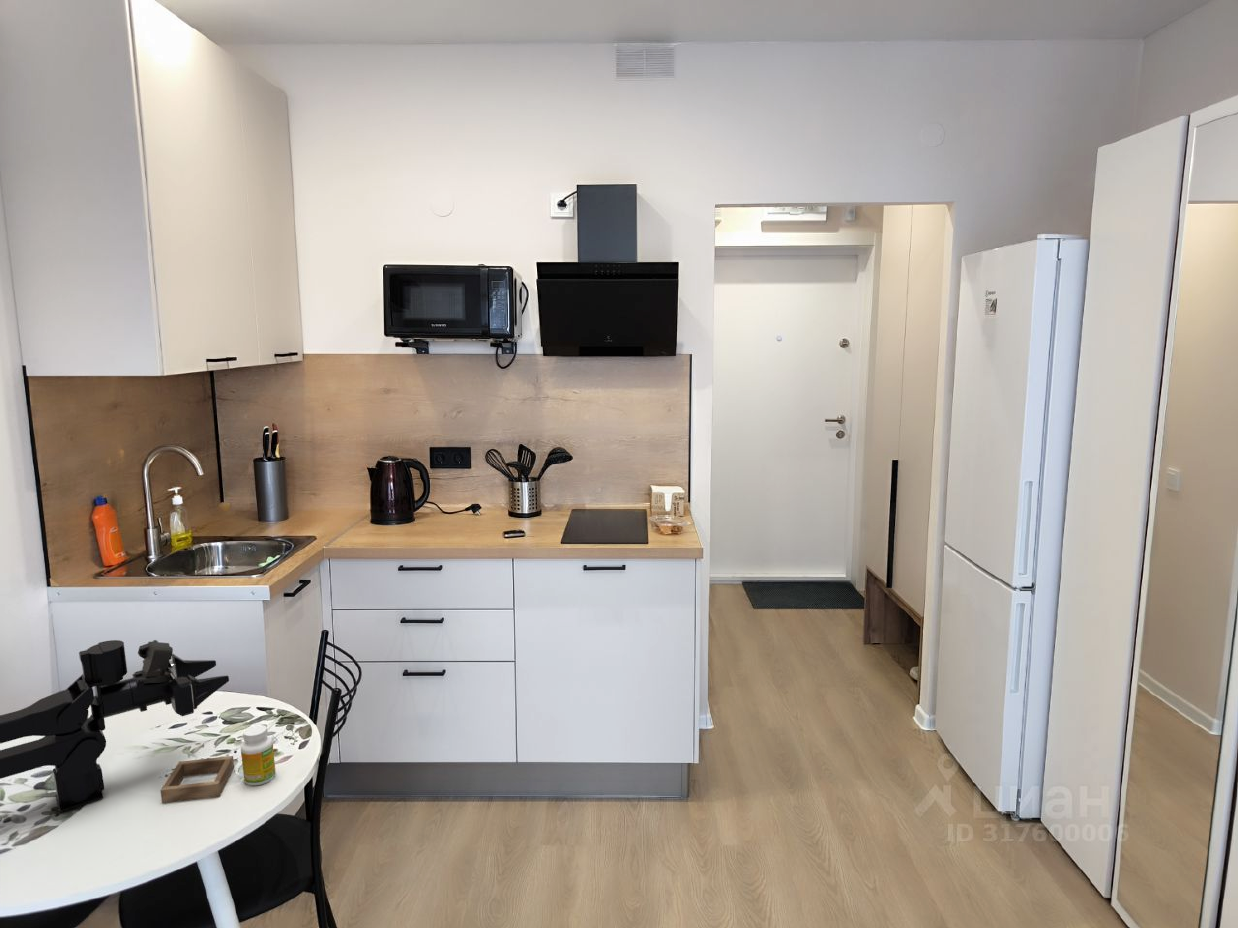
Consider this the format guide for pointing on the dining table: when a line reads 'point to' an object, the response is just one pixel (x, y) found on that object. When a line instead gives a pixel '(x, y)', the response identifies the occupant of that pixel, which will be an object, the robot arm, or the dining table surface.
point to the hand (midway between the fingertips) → (222, 670)
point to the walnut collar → (197, 790)
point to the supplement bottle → (257, 756)
